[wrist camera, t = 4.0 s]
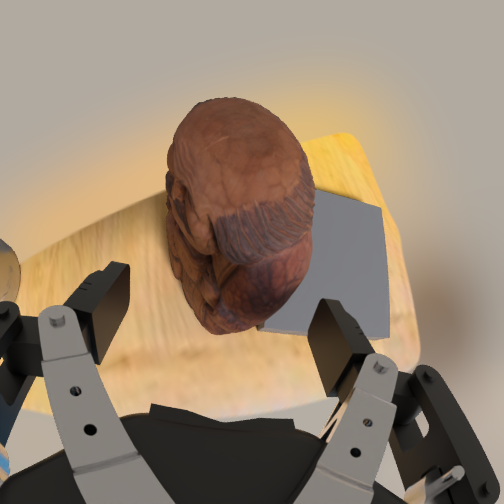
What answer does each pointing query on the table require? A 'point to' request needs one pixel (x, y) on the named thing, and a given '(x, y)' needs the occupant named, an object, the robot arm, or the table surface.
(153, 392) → the table surface
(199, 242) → the wooden figurine
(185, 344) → the table surface
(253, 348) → the table surface
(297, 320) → the base
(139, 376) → the table surface
